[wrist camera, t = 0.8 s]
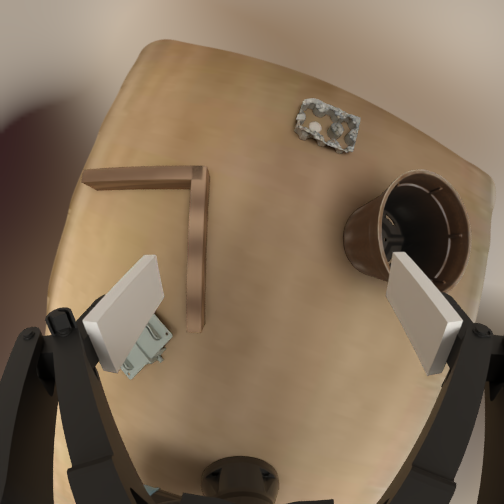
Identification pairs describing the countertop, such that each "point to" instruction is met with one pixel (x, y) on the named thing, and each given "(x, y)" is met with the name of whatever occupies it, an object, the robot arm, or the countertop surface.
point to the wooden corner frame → (198, 217)
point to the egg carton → (335, 128)
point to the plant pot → (412, 230)
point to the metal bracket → (147, 347)
